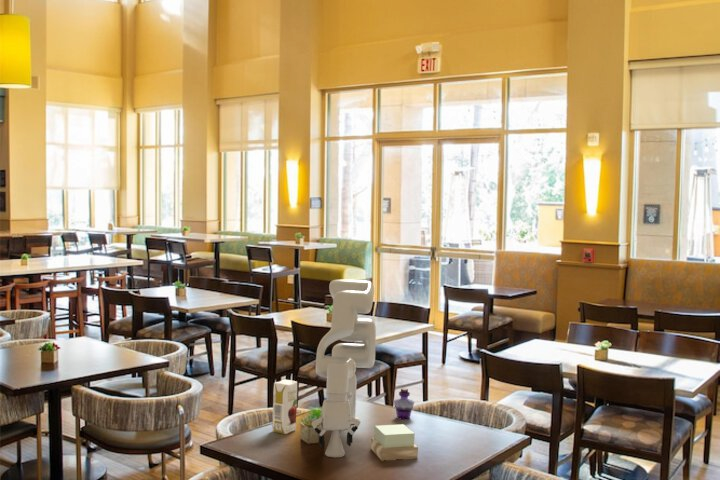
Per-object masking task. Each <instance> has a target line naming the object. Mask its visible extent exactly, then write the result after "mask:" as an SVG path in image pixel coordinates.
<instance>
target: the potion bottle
mask: <svg viewBox="0 0 720 480" xmlns="http://www.w3.org/2000/svg"><path fill="white" fill-rule="evenodd" d="M398 395H399V396H400V398H396V399H394V400H393V403H394V408H395V413H396V414H395V415H396V418H397V417H398V418H401V419H400V420H409V419H411V414H412V411H413V409H414V405H415V401H413V399H408V397H409V396H410V392H409V389H408V388H400V391H399V392H398ZM398 418H397V419H398Z"/></svg>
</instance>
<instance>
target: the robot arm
mask: <svg viewBox="0 0 720 480" xmlns="http://www.w3.org/2000/svg"><path fill="white" fill-rule="evenodd" d="M328 288H329V290H328V291H329V294H330V296H331V298H332V301H333V302H332V311H331V313H332V314H331V322H330V328H329V329H330V330H329V331H328V332H327V333H326V334H325V335H323V336H322V338H321V339H320V341H319V344H318V346H317V349H316V357H315V373H316V375H317V376H318V377H321V378H326V394H325V396H326V397H325V399H323V402H322V406H321V415H320V417H318V418H317V419H315V420H313V421H312V422H311V426H312V428H313V429H314V431H315V432H316V433H317V434H318V445H319V446H320V447H321V448H324V447H325V436H324V434H325V433H326V432H327V431H332V430H340V431H347V433H346V445H347V446H348V447H351V446H352V444H353V435H354V434H355V432H356V431H357V430H358V429H359V427H360V425H361V421H360V418H359V416H357V415H356V412H357V411H356V407H357V406H356V405H357V403H356V402H357V376H356V370H357V368H358V369H359V368H361V369H362V368H364V369H367V368H372V367H373V366H374V365H375V362H376V343H377V341H376V339H377V337H376V335H377V334H376V333H377V331H376V330H377V329H376V323H375V322H374V320H373V319H371V318H365V317H358V314H364V315H365V314H369V313H370V312H371V310H372V308H373V302H374V295H375V288H374V283H373V282H372V281H370V280H365V279H364V280H363V279H362V280H361V279H344V278H343V279H340V278H339V279H333V280H331V281H330V283H329V287H328ZM339 340H340V341H341V342H339V343H337V344H335V345H334V346H333V347H332V349H331V355H325V353H326V350H327V348H328V347H329V346H330V345H331V344H333V343H335V342H336V341H339ZM342 341H343V342H342ZM350 342H351V343H350ZM354 342H355V343H354ZM357 342H358V343H357ZM319 424H320V426H321V427H320V428H319V427H318V426H317V425H319ZM352 425H353V426H352ZM351 426H352V427H351Z"/></svg>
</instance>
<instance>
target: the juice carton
mask: <svg viewBox="0 0 720 480" xmlns="http://www.w3.org/2000/svg"><path fill="white" fill-rule="evenodd" d="M272 396H273V397H272V398H273V399H272V432H273V433H277V434H283V435H287V434H290V433H292V432H294V431H296V428H297V413H298V412H297V408H298V407H297V406H298V405H297V404H298V403H297V402H298V381H297V380H296V381H295V380H292V379H285V378H284V379H282V380H279V381H275V382H273V395H272Z"/></svg>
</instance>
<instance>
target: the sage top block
mask: <svg viewBox="0 0 720 480" xmlns="http://www.w3.org/2000/svg"><path fill="white" fill-rule="evenodd" d="M373 435H374V437H373V438H375V439H376V440H377V441H378V442H379V443H380V444H381V445H382V446H383V447H384V448H391V447H407V446H414V444H415V432H414V431H412V430H411V429H410V428H409V427H408V426H407V425H405V424H403V423H402V424H383V425H382V424H381V425H374V433H373Z"/></svg>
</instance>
